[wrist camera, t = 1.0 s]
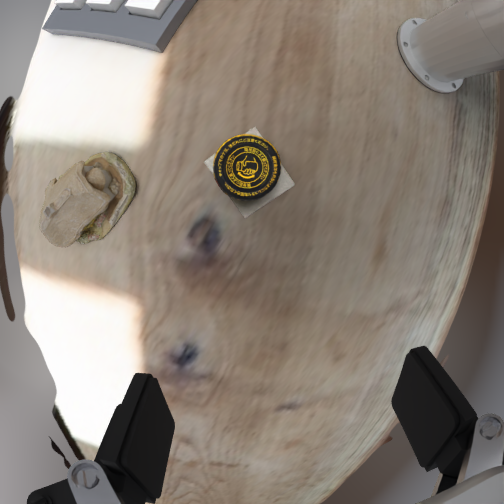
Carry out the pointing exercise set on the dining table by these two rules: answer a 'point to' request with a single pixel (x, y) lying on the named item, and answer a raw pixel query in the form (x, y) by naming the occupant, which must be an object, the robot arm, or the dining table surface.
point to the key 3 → (148, 7)
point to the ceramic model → (86, 200)
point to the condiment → (249, 171)
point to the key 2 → (105, 5)
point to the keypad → (120, 25)
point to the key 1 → (70, 4)
